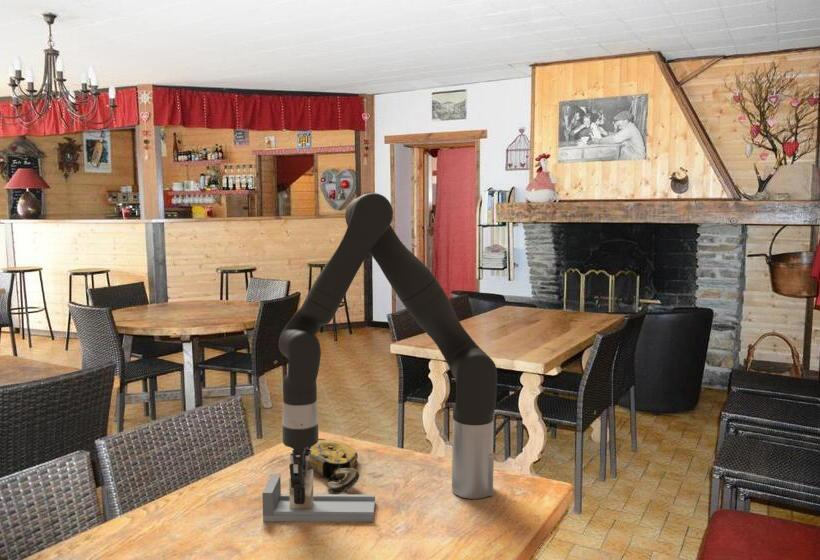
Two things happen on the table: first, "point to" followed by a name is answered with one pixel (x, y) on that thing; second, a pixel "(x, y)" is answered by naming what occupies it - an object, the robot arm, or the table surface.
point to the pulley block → (335, 463)
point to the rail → (316, 506)
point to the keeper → (308, 493)
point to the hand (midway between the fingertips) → (301, 497)
